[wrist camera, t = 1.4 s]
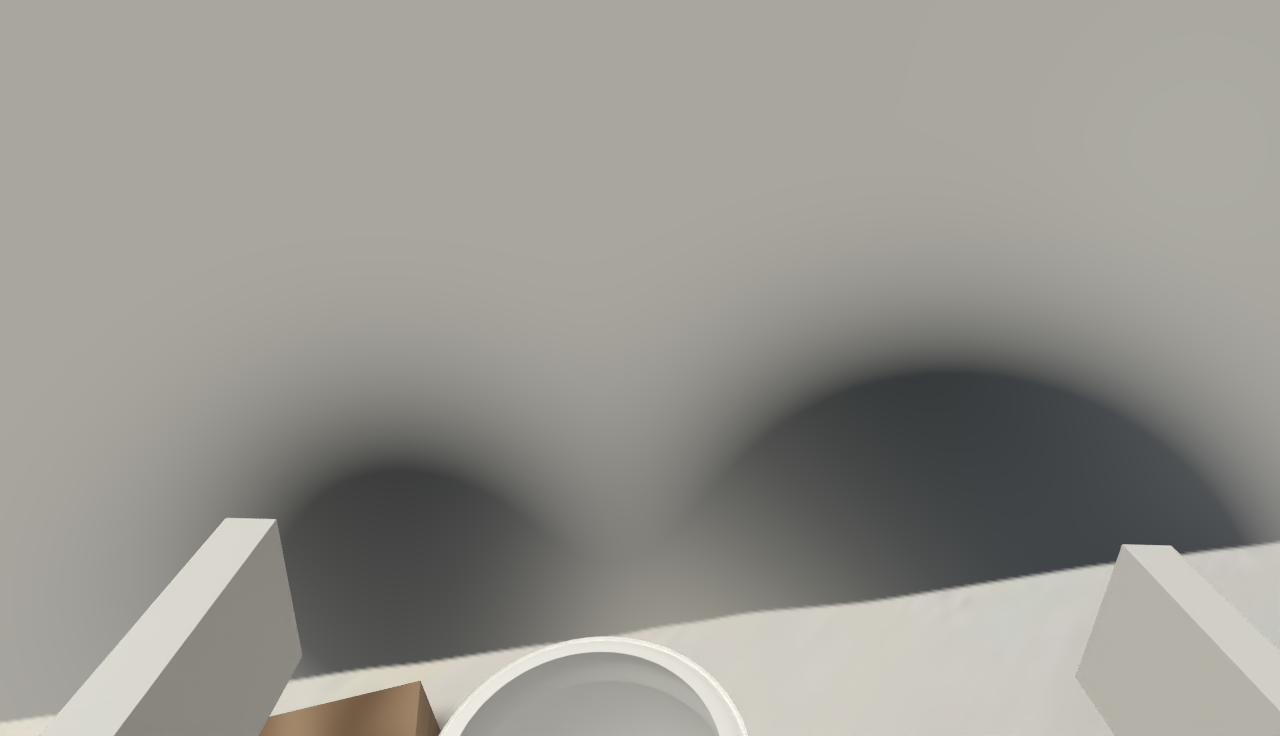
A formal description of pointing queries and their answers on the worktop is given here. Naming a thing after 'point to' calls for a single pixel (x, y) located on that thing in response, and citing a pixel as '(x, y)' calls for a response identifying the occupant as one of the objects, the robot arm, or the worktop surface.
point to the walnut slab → (362, 716)
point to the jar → (598, 694)
